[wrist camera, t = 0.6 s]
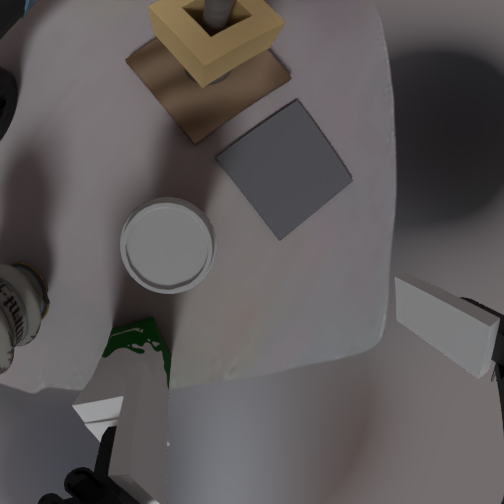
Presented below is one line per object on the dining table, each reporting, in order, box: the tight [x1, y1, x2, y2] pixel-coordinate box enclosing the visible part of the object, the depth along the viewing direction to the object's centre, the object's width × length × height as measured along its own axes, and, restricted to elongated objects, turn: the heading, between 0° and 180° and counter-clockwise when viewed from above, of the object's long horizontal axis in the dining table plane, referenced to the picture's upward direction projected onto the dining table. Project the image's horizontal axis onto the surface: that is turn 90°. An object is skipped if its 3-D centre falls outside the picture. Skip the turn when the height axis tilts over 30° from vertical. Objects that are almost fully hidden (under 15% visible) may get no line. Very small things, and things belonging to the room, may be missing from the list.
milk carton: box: [72, 317, 171, 446], centre depth 31 cm, size 9×9×20 cm
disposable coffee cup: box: [120, 197, 217, 294], centre depth 32 cm, size 10×10×12 cm
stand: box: [125, 0, 291, 145], centre depth 25 cm, size 16×16×18 cm
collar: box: [148, 0, 286, 88], centre depth 22 cm, size 9×9×6 cm
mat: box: [215, 100, 353, 241], centre depth 39 cm, size 14×14×1 cm
